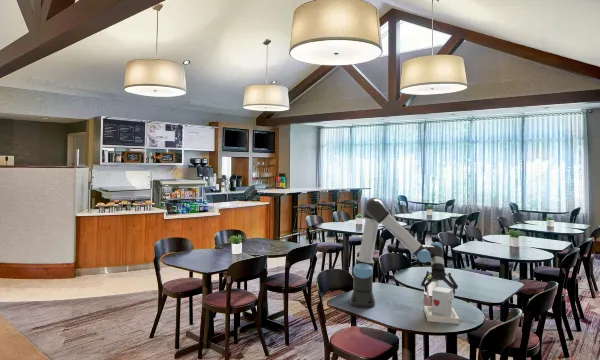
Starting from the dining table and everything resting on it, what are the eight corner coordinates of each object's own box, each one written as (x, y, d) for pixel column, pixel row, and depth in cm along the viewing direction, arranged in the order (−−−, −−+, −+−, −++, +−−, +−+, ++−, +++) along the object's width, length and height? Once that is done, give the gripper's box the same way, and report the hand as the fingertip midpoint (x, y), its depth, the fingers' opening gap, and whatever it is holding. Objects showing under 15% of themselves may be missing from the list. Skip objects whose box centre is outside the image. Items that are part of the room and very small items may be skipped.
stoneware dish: (427, 321, 214) (427, 315, 214) (424, 310, 230) (424, 305, 229) (458, 323, 211) (458, 318, 211) (453, 313, 226) (453, 308, 226)
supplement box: (430, 316, 218) (431, 289, 218) (435, 311, 226) (435, 285, 225) (447, 320, 213) (448, 292, 213) (451, 315, 221) (452, 288, 220)
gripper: (458, 270, 239) (462, 303, 225) (416, 267, 244) (417, 299, 230) (460, 263, 233) (464, 297, 219) (416, 261, 239) (417, 293, 225)
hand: (440, 298), depth 225 cm, fingers open, 13 cm apart
